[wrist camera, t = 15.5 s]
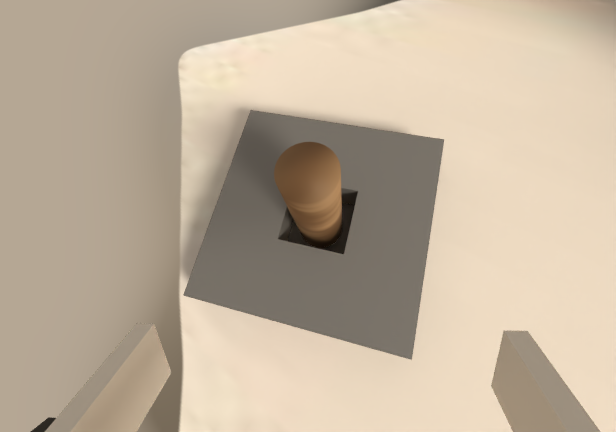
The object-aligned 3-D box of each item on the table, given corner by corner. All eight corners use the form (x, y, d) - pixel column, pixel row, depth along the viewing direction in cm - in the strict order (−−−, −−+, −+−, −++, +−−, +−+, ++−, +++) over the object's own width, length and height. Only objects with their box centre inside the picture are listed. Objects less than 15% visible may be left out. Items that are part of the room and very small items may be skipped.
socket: (432, 159, 34) (444, 139, 30) (402, 354, 28) (411, 359, 24) (260, 131, 37) (250, 110, 34) (202, 298, 32) (183, 295, 28)
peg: (346, 212, 33) (347, 147, 21) (337, 252, 32) (332, 208, 19) (306, 204, 34) (284, 137, 21) (295, 242, 32) (265, 195, 20)
